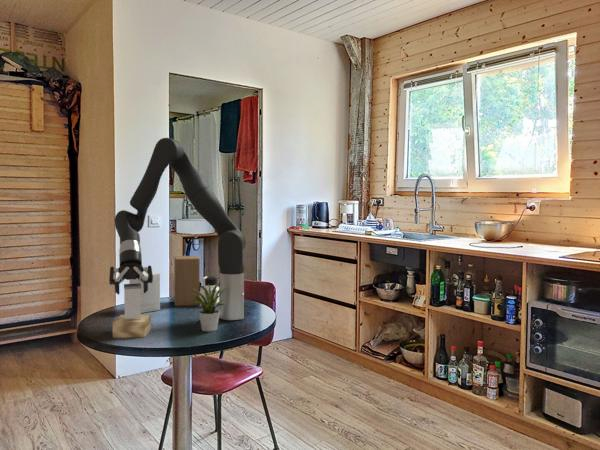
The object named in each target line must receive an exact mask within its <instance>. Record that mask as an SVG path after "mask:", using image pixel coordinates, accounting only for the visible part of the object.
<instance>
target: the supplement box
mask: <svg viewBox="0 0 600 450" xmlns="http://www.w3.org/2000/svg"><path fill="white" fill-rule="evenodd" d="M143 274H144V276H145V277H146V278H148V274H147V273H146V272H145V271H143ZM152 274H153V282H152V283H148V291H147V292H146V293H144V290H143V283H142V282H141V281H139V280H138V279H134V280H133V279H130V280H128V281H129V283H128V284H138V283H140V284H141V314H145V312H146V313H150V312H151V313H152V312H157V311H161V310H160V309H161V283H160V282H161V274H160V273H157V272H153V271H152Z"/></svg>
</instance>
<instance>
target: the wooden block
mask: <svg viewBox="0 0 600 450" xmlns="http://www.w3.org/2000/svg"><path fill="white" fill-rule="evenodd" d="M173 259H174V265H173V267H174V268H173V269H174V270H173V271H174V274H173V275H174V277H173V278H174V284H173V285H174V286H173V289H174V293H173V294H174V295H173V296H174V297H173V299H174V300H173V301H174V305H175V307H186V306H187V307H188V306H200V303H196V302H197V301H196V300H197V299H196V298H195V297H194V295H193V294H192V293H194V294H196V295H197V296H198V297H200V295H199V293H198V292H197V291H199V292H200V290H201V284H200V283H201V280H200V279H201V276H200V274H201V270H200V269H201V268H200V267H201V266H200V265H201V261H200V260H201V259H200V257H199V256H198V255H175V256H174V258H173ZM193 288H194V289H193ZM195 289H196V290H197V291H196V290H195ZM194 301H195V302H194Z"/></svg>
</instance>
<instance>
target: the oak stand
mask: <svg viewBox="0 0 600 450" xmlns="http://www.w3.org/2000/svg"><path fill="white" fill-rule="evenodd" d="M151 329H152V314H150V313H149V314H147V313H146V314H145V313H144V314H141V319H140V320H126V321H125V317H124V314H120V315H119V316H118V317H117V318H115V320H113V321H112V338H115V339H117V338H118V339H119V338H146V337H147V335H148V334H149V332H150V331H151Z"/></svg>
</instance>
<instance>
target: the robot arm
mask: <svg viewBox="0 0 600 450" xmlns="http://www.w3.org/2000/svg"><path fill="white" fill-rule="evenodd" d="M168 166H170V167H171V168H172V170H173V171H174V172H175V173H176V175H177V176H178V178H179V179H180V182H181V185H182V189H183V192H184V193H185V196H186V198H187V199H188V200H189V202H190V204H192V207H193V208H194V209H195V211H196V212H197V213H198V214H199V216H201V217H202V218H203V219H204V220H205V221H206V222H207V223H208V224H210V225H211V227H212V228H213V230H214V231H215V232H216V234H217V236H218V237H219V238H218V241H217V261H218V262H217V264H218V265H217V266H218V269H219V283H218V287H219V289H221V288H222V289H221V290H220V293H221V291H222V290H223V289H225V288H227V287H229V288H227V289H225V290H224V292H223V293H222V294H221V295H220V296H219V302H220V301H222V300H223V302H220V303H219V304H225V305H219V306H218V308H219V309H218V310H219V311H220V314H219V319H220V320H223V321H239V320H244V319H245V318H244V317H245V315H244V313H245V310H244V309H245V305H244V304H245V265H244V261H243V257H244V256H243V251H244V249H245V248H246V243H247V241H246V237H245V235H244V234H243V232H242V231H241V230H240V229H239V228H238V227H237V226H236V224H235V223H234V222H233V221H232V219H231V218H230V217H229V216H228V214H227V212H226V210H225V209H224V207H223V206H222V204H221V202H220V200H219V199H218V197H217V196H216V195H215V193H214V191H213V190H212V188H211V187H210V185H209V184H208V183H207V182H206V179H204V177H203V176H202V175H201V174H200V172H199V171H198V170H197V168H196V166H195V165H194V164H193V162H192V160H191V158H190V157H189V155H188V153H187V151H186V150H185V147H184V145H183V144H182V143H181V142H180V141H179V140H176V139H174V138H171V137H163V138H160V139H159V140H158V141H156V143H155V146H154V148H153V150H152V153H151V157H150V159H149V162H148V165H147V166H146V170H145V173H144V174H143V177H142V179H141V180H140V182H139V184H138V186H137V188H136V189H135V192H133V195H132V197H131V199H130V201H129V205H130V206H131V207H132V208H133V209H135V210H136V211H137V212H136V213H133V212H131V211H128V210H125V209H123V210H120V211H118V212H117V213H116V214H115V216H114V227H115V230H116V232H117V235H118V237H119V250H118V252H119V253H118V257H119V267H118V268H116V267H114V266H110V268H109V278H108V279H109V282H108V283H109V285H114V293H115V294H117V295H120V284H121V283H123V282H124V281H125V280H127V281H129V280H130V279H133V280H134V279H138V280H139V281H141V282H142V283H143V290H144V293H146V292H147V291H148V283H152V282H153V274H152V272H153V268H152V265H148V266H145V267H144V266H143V262H142V261H143V259H142V257H143V256H142V247H141V237H140V233H139V232H141V231H142V230H143V227H144V224H145V219H146V217H147V213H148V209H149V207H150V206H151V204H152V202H153V200H154V199H155V197H156V194H157V192H158V188H159V185H160V182H161V178H162V176H163V174H164V172H165V171H166V169H167V167H168ZM143 272H146V273H147V274H148V278H146V277H145V276H144V274H143ZM117 273H118V276H117V277H116V279H115V278H114V276H115V275H116V274H117ZM220 293H219V294H220ZM225 301H226V302H225Z"/></svg>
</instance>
